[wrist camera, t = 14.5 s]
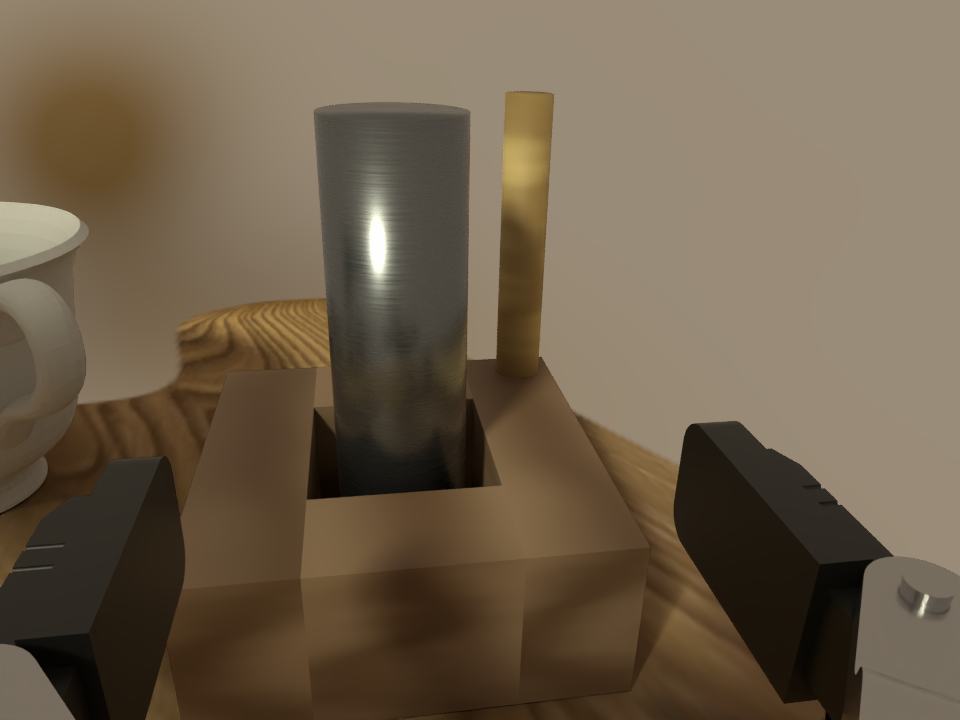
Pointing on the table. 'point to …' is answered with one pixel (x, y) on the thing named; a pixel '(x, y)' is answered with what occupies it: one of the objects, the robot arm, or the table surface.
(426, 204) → the long pin
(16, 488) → the teacup
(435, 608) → the hole block
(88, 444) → the table surface
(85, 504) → the robot arm
